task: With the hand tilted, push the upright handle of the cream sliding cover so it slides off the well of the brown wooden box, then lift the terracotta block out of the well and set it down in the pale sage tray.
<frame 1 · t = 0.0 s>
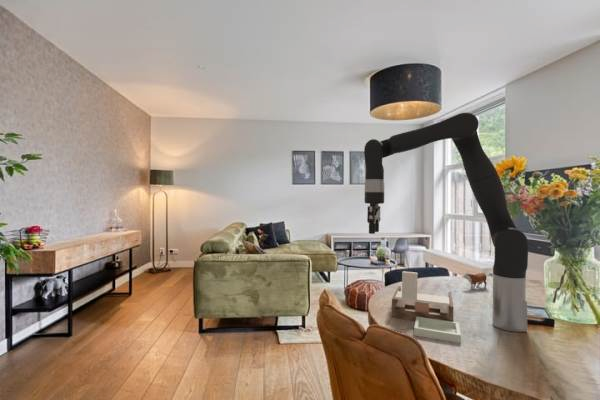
hand: (373, 232, 125), 29 cm above the table, tool pointing down, fingers open, 8 cm apart
sage tray: (436, 332, 102), on the table
brown wooden box: (422, 312, 120), on the table
terracotta block: (421, 313, 114), point 2 cm above the table, touching brown wooden box
cover: (422, 285, 114), point 12 cm above the table, slide at 0.0 cm
bull figurine: (475, 288, 156), on the table
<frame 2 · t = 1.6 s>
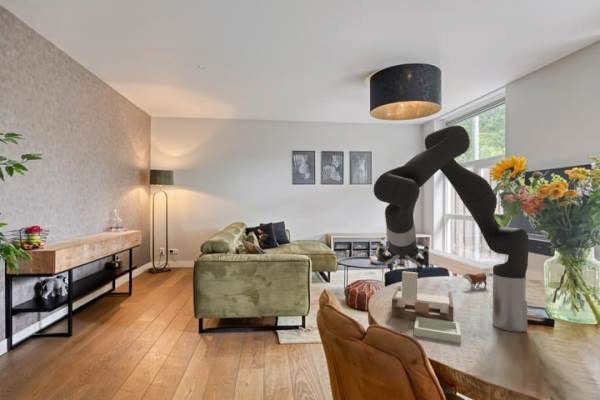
hand: (405, 269, 98), 21 cm above the table, tool tilted 45°, fingers open, 7 cm apart
nothing on the table moved.
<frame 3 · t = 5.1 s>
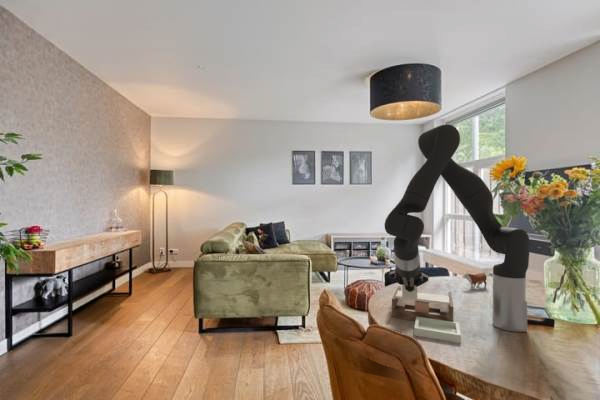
hand: (409, 289, 113), 11 cm above the table, tool tilted 45°, fingers closed
cover: (422, 284, 116), point 12 cm above the table, slide at 1.3 cm, touching gripper
everything else where it was.
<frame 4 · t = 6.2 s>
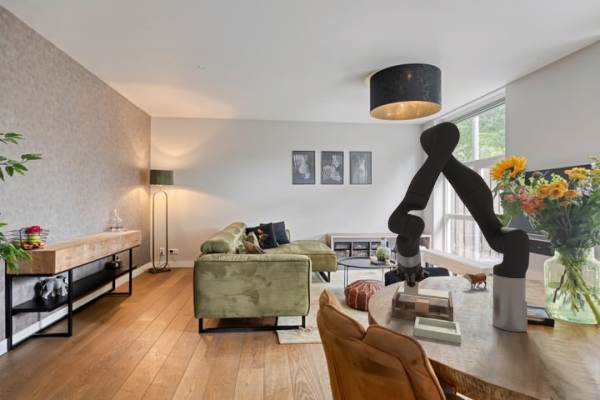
hand: (411, 285, 119), 11 cm above the table, tool tilted 45°, fingers closed
cover: (423, 280, 121), point 12 cm above the table, slide at 7.6 cm, touching gripper
everything else where it was.
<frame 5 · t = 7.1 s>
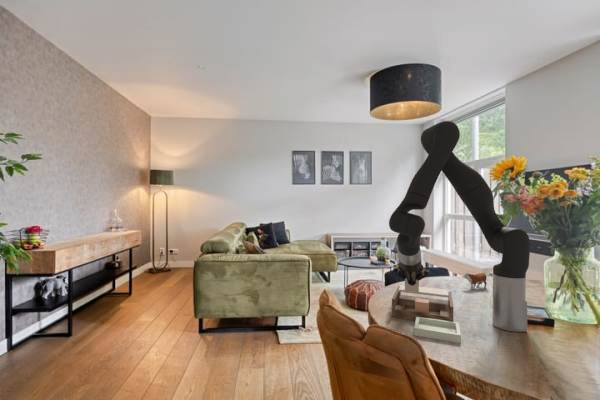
hand: (411, 283, 121), 11 cm above the table, tool tilted 45°, fingers closed
cover: (423, 279, 124), point 12 cm above the table, slide at 10.7 cm, touching gripper
everything else where it was.
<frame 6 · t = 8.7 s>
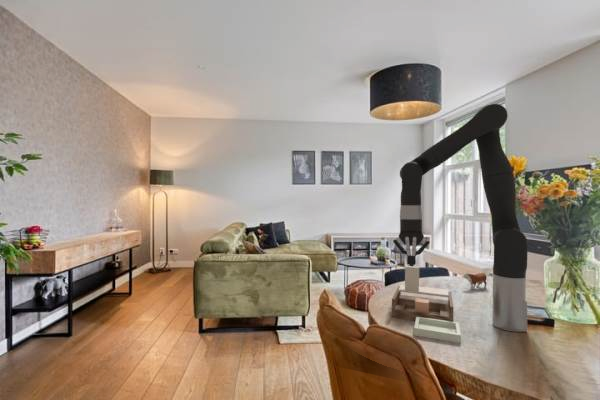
hand: (411, 265, 115), 18 cm above the table, tool pointing down, fingers closed
cover: (423, 279, 124), point 12 cm above the table, slide at 10.8 cm
everything else where it was.
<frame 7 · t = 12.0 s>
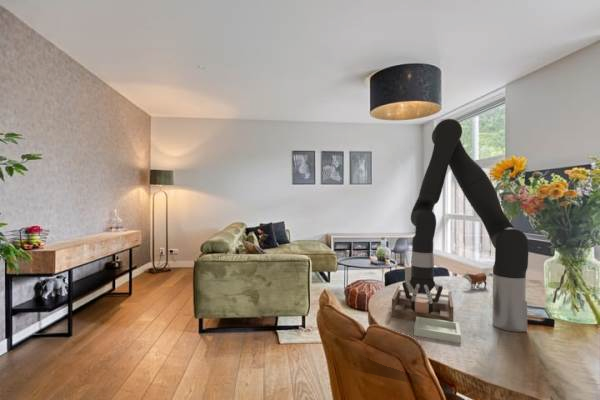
hand: (421, 311, 114), 2 cm above the table, tool pointing down, fingers closed on terracotta block, 4 cm apart
terracotta block: (421, 313, 114), point 2 cm above the table, touching gripper, brown wooden box
everything else where it was.
when the fingers open (2 cm above the table, at t = 17.7 s): terracotta block drops 1 cm, resting on sage tray.
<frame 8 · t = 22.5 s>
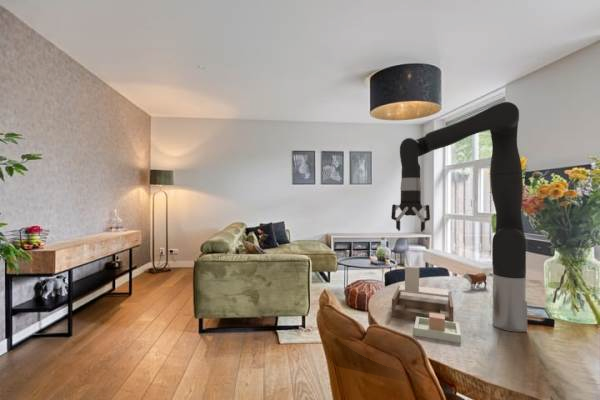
hand: (410, 231, 126), 30 cm above the table, tool pointing down, fingers open, 8 cm apart
terracotta block: (436, 329, 102), point 1 cm above the table, touching sage tray
everything else where it was.
at the end: cover slide at 10.8 cm; terracotta block inside the target area on the sage tray (0.0 cm from its centre), point 0.8 cm above the sage tray's base; the gripper is holding nothing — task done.
